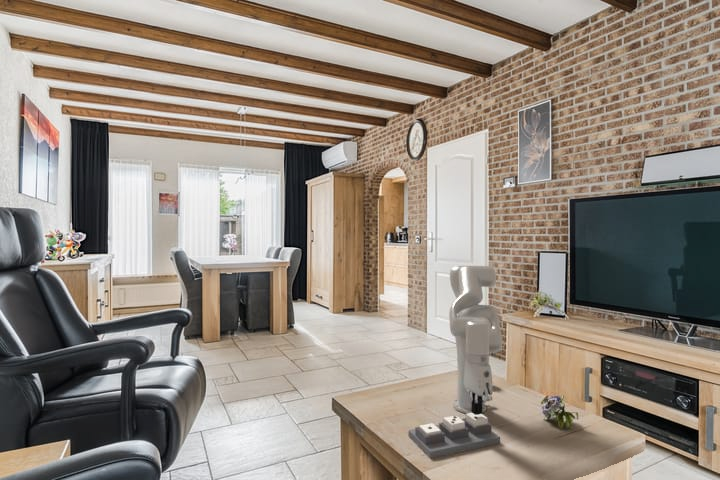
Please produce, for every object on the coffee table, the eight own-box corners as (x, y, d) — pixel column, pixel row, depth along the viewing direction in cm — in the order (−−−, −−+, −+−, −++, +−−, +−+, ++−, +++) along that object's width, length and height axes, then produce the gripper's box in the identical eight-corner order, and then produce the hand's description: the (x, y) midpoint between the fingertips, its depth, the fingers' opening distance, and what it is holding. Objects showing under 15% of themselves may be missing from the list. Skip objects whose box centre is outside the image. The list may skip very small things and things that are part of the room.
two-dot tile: (478, 420, 136) (478, 411, 136) (487, 426, 131) (487, 417, 131) (465, 422, 134) (465, 413, 134) (474, 429, 130) (475, 419, 130)
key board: (473, 423, 141) (473, 411, 141) (500, 443, 128) (500, 429, 128) (408, 436, 132) (408, 422, 132) (430, 458, 119) (430, 443, 119)
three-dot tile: (455, 424, 133) (455, 415, 133) (464, 431, 128) (464, 421, 128) (443, 426, 131) (443, 417, 131) (451, 433, 127) (451, 424, 127)
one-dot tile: (432, 432, 130) (432, 422, 130) (440, 439, 125) (440, 429, 125) (419, 434, 128) (419, 425, 128) (426, 442, 123) (427, 432, 123)
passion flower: (546, 434, 144) (535, 400, 151) (577, 431, 143) (564, 396, 150) (552, 429, 135) (540, 393, 142) (585, 425, 134) (571, 389, 141)
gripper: (501, 363, 127) (501, 420, 127) (472, 351, 141) (472, 403, 140) (482, 365, 124) (481, 424, 124) (454, 353, 138) (454, 406, 138)
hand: (476, 413), depth 132 cm, fingers closed
